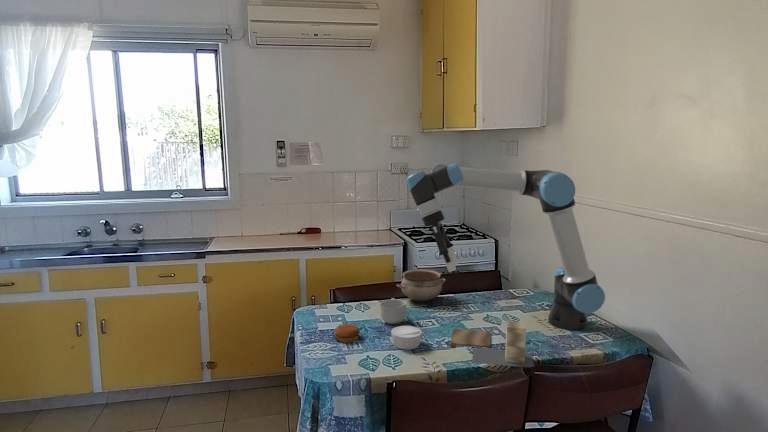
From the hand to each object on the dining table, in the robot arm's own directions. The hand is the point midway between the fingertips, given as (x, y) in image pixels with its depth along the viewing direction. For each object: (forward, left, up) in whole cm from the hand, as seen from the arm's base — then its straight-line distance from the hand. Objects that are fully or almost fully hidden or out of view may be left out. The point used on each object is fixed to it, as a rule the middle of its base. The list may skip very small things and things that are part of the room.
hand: (454, 267), depth 187 cm
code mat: (-18, +12, -28) cm, 36 cm away
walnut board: (-7, -3, -28) cm, 29 cm away
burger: (+39, +3, -29) cm, 49 cm away
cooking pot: (+17, -47, -29) cm, 57 cm away
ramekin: (+16, +5, -29) cm, 34 cm away
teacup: (+25, -19, -29) cm, 43 cm away
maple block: (-22, +12, -27) cm, 37 cm away
